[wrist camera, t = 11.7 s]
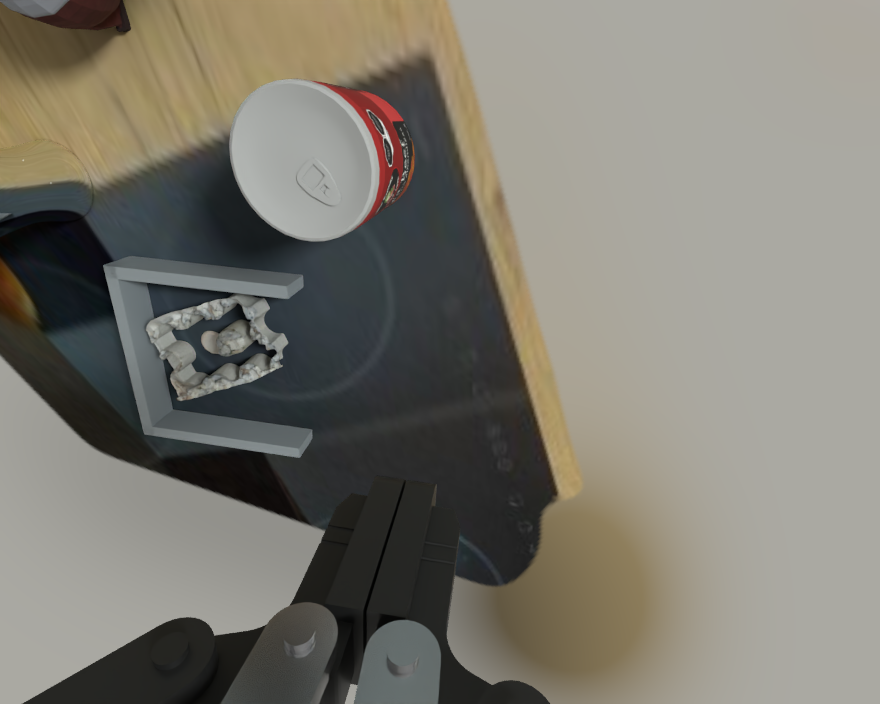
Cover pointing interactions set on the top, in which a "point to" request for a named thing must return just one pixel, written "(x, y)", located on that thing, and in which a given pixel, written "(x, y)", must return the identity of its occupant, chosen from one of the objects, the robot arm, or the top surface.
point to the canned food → (319, 157)
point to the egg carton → (217, 345)
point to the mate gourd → (74, 13)
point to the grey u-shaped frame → (148, 367)
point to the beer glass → (41, 185)
